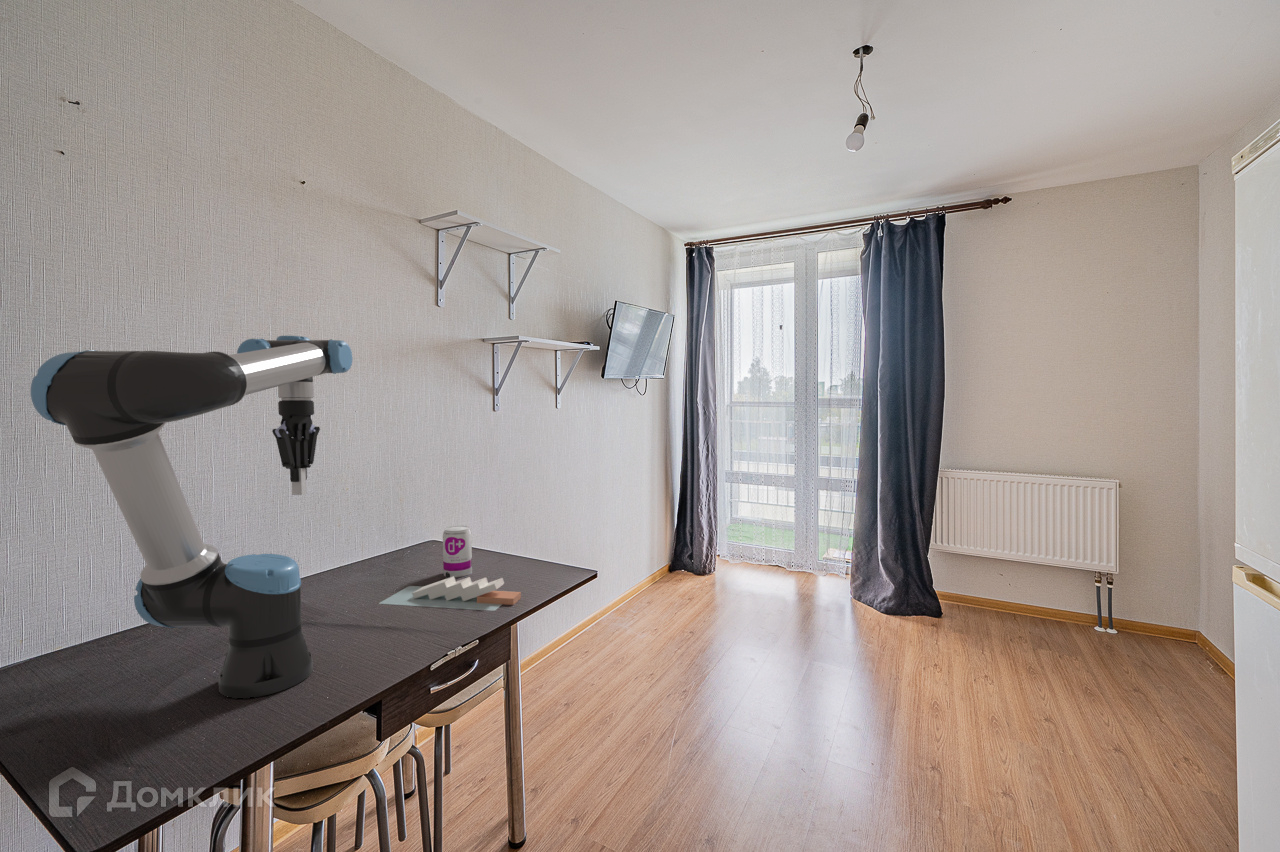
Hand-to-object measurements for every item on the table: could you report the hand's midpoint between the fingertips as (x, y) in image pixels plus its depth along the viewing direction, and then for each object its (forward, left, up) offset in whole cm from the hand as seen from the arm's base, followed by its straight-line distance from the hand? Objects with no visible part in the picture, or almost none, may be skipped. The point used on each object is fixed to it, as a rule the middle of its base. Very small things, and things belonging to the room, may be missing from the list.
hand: (299, 494), depth 139 cm
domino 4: (+14, -37, -28) cm, 49 cm away
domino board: (+14, -32, -30) cm, 46 cm away
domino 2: (+14, -28, -29) cm, 42 cm away
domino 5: (+14, -41, -28) cm, 52 cm away
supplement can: (+34, -24, -31) cm, 52 cm away
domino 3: (+14, -32, -28) cm, 45 cm away
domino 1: (+14, -23, -28) cm, 39 cm away
